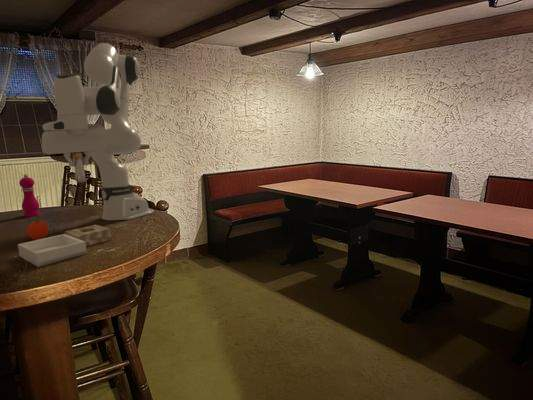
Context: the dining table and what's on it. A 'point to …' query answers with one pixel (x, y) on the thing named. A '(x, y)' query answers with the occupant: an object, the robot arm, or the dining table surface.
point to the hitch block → (91, 234)
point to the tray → (51, 249)
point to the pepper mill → (29, 197)
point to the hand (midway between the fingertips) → (79, 165)
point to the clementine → (37, 230)
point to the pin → (79, 167)
